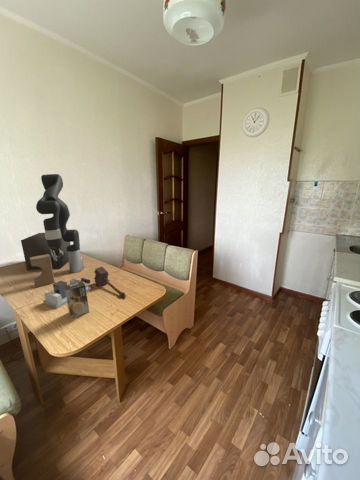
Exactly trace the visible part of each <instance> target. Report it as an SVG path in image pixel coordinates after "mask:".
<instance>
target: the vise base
mask: <svg viewBox="0 0 360 480" xmlns="http://www.w3.org/2000/svg"><path fill="white" fill-rule="evenodd" d="M90 291H91V287H90V286H87V285H86V293H87V292H90ZM43 294H44V298H45V299H44V300H42V301H43V304H44V305H47V306H49V307H53V308H56V309H59V308H61V307H62V306H65V305H66V304H67V298H64V299H62V297H61V295H60V294H57V293H54V291H51V290H46V291H44V293H43Z"/></svg>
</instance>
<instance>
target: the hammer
mask: <svg viewBox="0 0 360 480" xmlns="http://www.w3.org/2000/svg"><path fill="white" fill-rule="evenodd" d="M94 274H95V275H94V276H95V277H94V278H93V279H94V282H95V284H96V285H98V286H99V287H103V286H105V285H108V286H109V287H110V288H112V289H113V290H114V291H115V292H116V293H117V294H118V295H119V296H120V298H124V299H126V298H127V295H126V294H125V292H123V291H122V290H121V291H120V290H119V289H118V288H117V287H115V286H114V285H113V284H112V283H111V282H110V279H108V278H109V277H108V276H110V275H109V274H110V273H109V271H108V270H106V268H104V267H103V266H100V267H97V268H95V270H94Z"/></svg>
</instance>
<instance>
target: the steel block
mask: <svg viewBox="0 0 360 480" xmlns="http://www.w3.org/2000/svg"><path fill="white" fill-rule="evenodd" d="M65 285H68V283H67V281H64V280H59V281H57V282H55V283H52V286H53V287H52V288H53V292H54V293H57V294H60V295H61V297H62V299H64V298H66V293H65V288H64V286H65Z"/></svg>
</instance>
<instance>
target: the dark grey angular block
mask: <svg viewBox="0 0 360 480" xmlns="http://www.w3.org/2000/svg"><path fill="white" fill-rule="evenodd" d="M62 242H63V244H62V245H61V249H62V252H65V255H64V257H63V259H62V260H60V261H61V266H60V267H57V266H56V263H55V260H54V259H52V257H51V256H50V258H51V264H52V269H53V270H61V269H62V268H63V267H64V266H66V264H69V262H68V255H67V249H66V248H67V247H68V246H70V245H72V244H71V242H65V241H64V240H63V239H62ZM20 244H21V248H22V251H23V252H22V253H23V258H24V261H25V267H26V270H27V271H37V270H39V271H42V269H41V268H40V267H37V266H31V264H30V259H29V258H30V257H35V256H40V255H46V254H49V252H48V250H50V247H48V246H47V243H46V237H45V232H38V233H35V234H33V235H30V236H28V237H26V238H24V239H21V240H20ZM49 255H50V254H49Z"/></svg>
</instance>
